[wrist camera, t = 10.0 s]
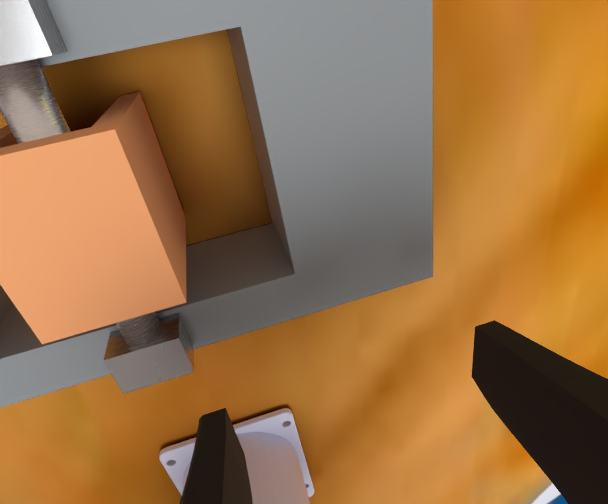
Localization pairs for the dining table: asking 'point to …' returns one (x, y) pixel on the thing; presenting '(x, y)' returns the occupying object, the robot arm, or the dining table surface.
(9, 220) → the open-top orange sleeve
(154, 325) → the thick gray rectangular frame
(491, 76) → the dining table surface
